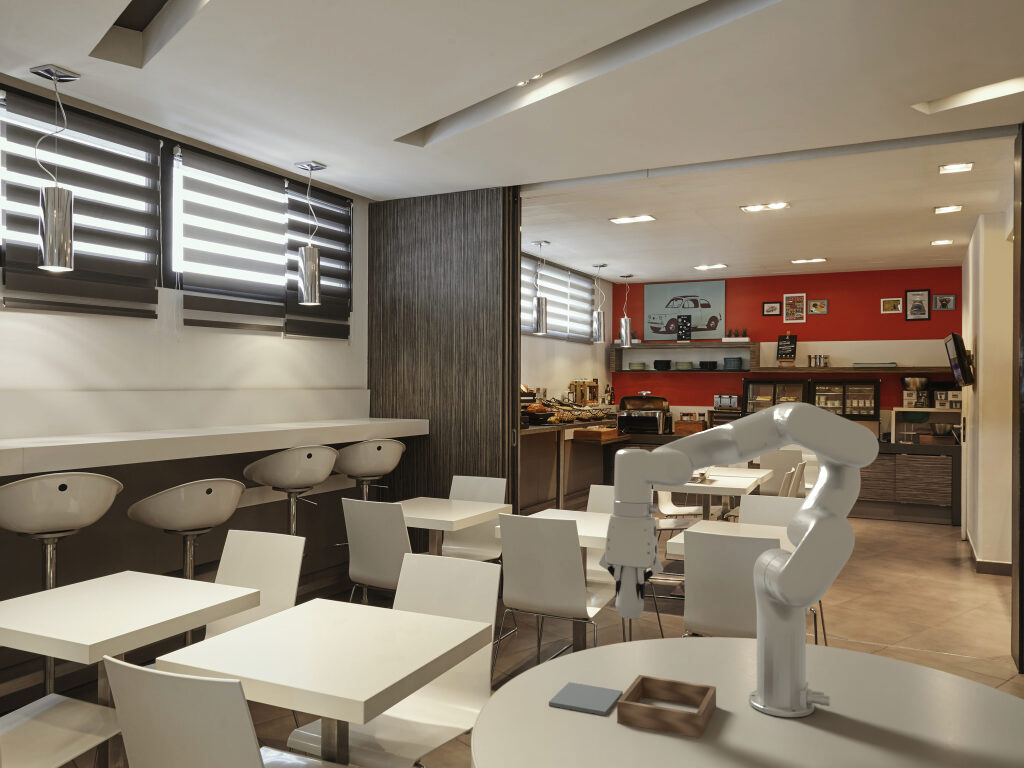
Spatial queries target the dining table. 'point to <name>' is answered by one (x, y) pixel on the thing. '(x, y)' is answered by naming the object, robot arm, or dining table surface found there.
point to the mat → (586, 698)
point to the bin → (666, 717)
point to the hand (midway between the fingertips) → (629, 600)
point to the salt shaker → (629, 595)
